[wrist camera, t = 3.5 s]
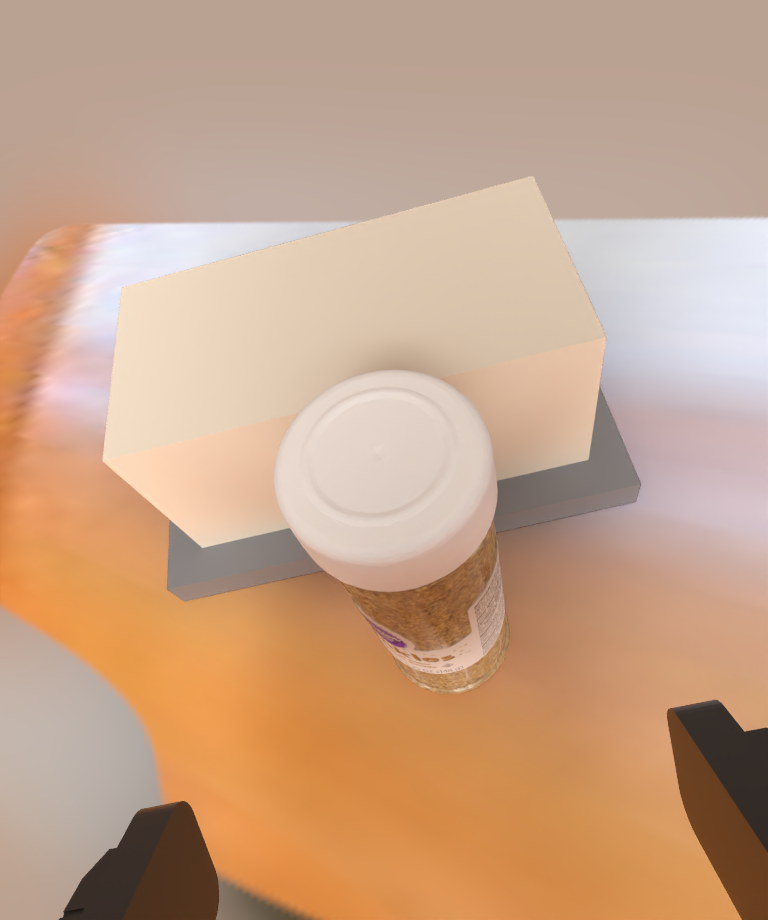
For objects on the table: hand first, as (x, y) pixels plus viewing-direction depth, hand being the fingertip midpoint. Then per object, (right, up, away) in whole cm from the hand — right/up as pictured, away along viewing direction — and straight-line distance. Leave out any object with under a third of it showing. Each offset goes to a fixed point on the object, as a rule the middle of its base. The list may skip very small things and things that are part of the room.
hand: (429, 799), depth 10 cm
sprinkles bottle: (+2, -1, +14) cm, 14 cm away
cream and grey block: (-1, +6, +18) cm, 20 cm away
